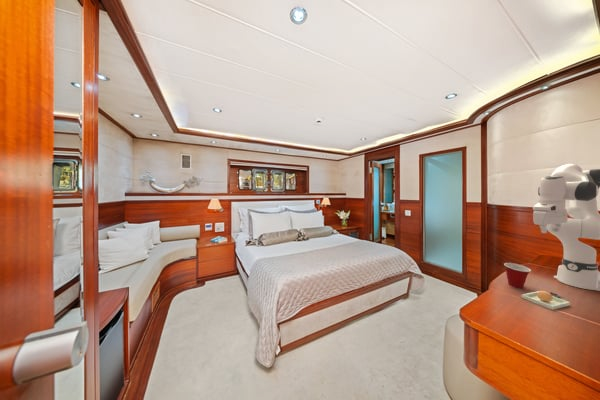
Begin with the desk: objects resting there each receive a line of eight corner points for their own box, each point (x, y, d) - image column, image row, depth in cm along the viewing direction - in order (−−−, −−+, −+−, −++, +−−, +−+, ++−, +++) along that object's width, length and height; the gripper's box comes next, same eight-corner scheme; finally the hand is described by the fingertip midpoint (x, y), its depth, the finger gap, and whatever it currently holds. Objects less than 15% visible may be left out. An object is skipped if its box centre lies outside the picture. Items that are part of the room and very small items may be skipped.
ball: (541, 297, 103) (541, 288, 103) (555, 302, 98) (555, 292, 98) (534, 299, 102) (534, 290, 101) (548, 304, 97) (548, 294, 97)
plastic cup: (526, 292, 109) (527, 271, 109) (499, 284, 119) (500, 264, 118) (533, 288, 114) (534, 267, 113) (507, 280, 124) (508, 261, 123)
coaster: (545, 291, 110) (545, 289, 110) (565, 298, 103) (565, 296, 103) (537, 293, 108) (537, 291, 108) (556, 300, 101) (556, 298, 101)
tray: (537, 294, 107) (538, 291, 107) (569, 306, 96) (570, 302, 96) (521, 298, 104) (521, 294, 104) (552, 310, 93) (552, 306, 93)
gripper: (555, 205, 111) (554, 229, 112) (530, 206, 106) (529, 232, 107) (573, 206, 105) (571, 232, 105) (547, 207, 100) (546, 234, 100)
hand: (550, 232), depth 106 cm, fingers open, 8 cm apart
